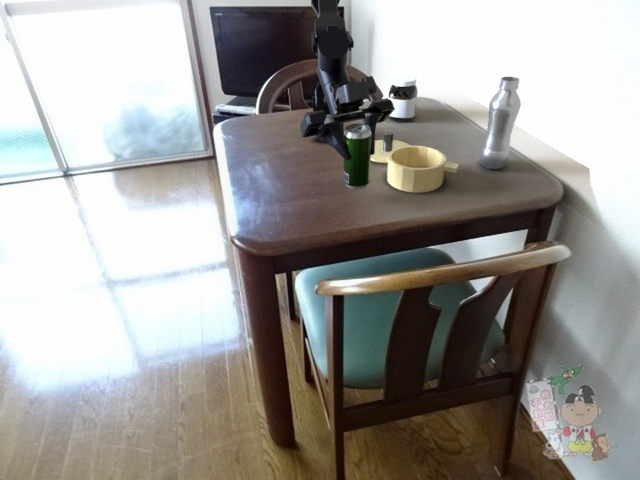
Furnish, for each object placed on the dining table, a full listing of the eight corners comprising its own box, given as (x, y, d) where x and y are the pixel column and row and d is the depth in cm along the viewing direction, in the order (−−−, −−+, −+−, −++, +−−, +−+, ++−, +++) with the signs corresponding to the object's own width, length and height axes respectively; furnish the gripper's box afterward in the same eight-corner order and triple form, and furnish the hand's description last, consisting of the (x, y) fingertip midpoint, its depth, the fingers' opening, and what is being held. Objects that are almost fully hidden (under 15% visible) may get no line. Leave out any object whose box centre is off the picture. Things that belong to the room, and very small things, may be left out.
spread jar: (409, 125, 125) (412, 84, 119) (372, 120, 130) (373, 80, 123) (419, 112, 134) (423, 73, 127) (384, 108, 138) (386, 70, 132)
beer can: (354, 192, 87) (355, 136, 80) (338, 182, 91) (338, 127, 84) (375, 184, 90) (377, 129, 83) (359, 175, 93) (360, 121, 86)
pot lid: (405, 169, 103) (407, 146, 99) (353, 160, 108) (353, 139, 104) (420, 147, 112) (422, 126, 109) (371, 140, 117) (372, 120, 114)
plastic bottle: (506, 161, 104) (526, 75, 92) (506, 174, 99) (527, 84, 87) (478, 158, 106) (494, 73, 94) (476, 170, 101) (493, 82, 89)
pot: (448, 199, 91) (452, 175, 87) (368, 184, 97) (368, 162, 94) (459, 174, 100) (463, 151, 96) (385, 162, 106) (386, 141, 103)
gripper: (301, 69, 77) (327, 150, 75) (393, 55, 82) (419, 130, 80) (290, 100, 87) (312, 172, 86) (371, 86, 93) (395, 153, 91)
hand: (360, 157), depth 85 cm, fingers closed on beer can, 5 cm apart
